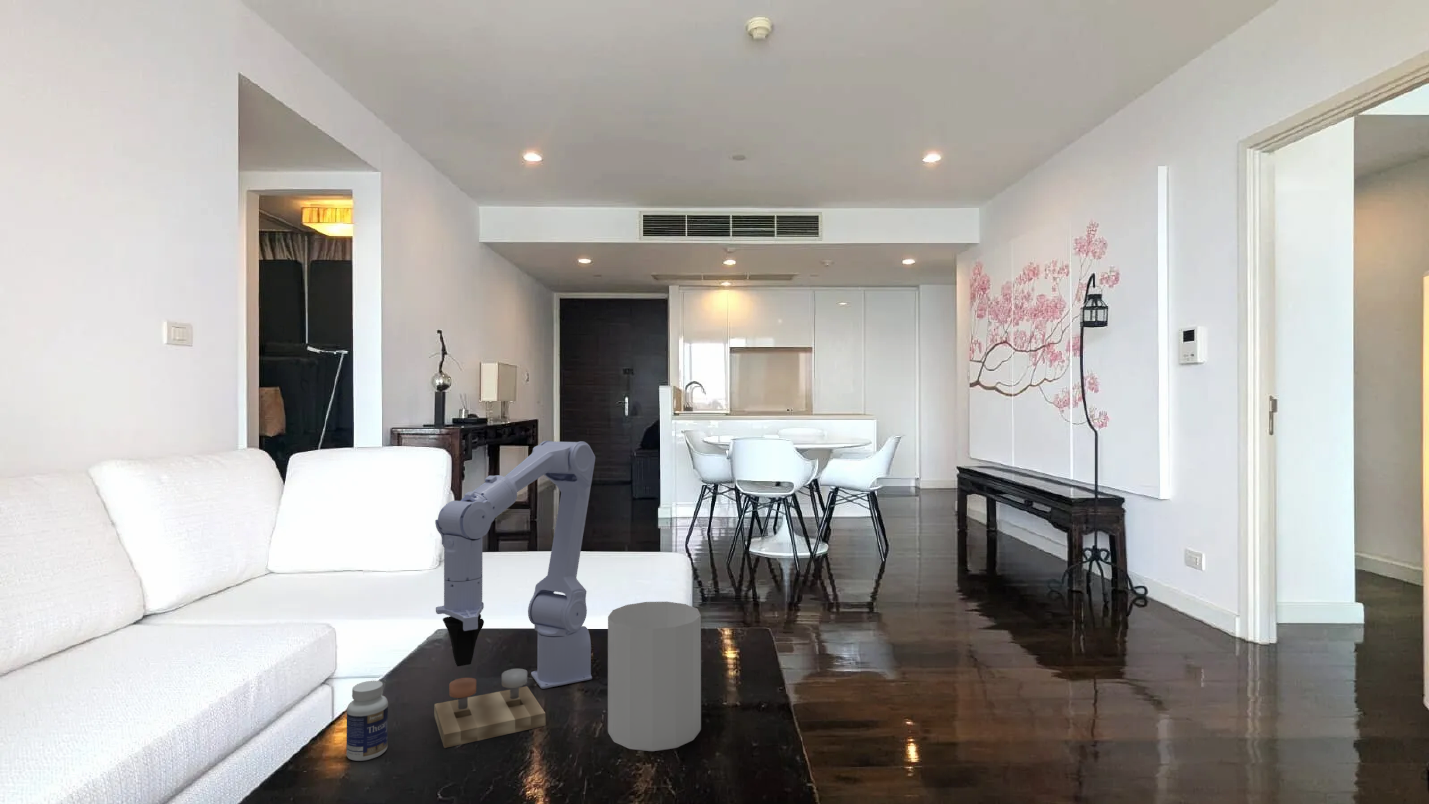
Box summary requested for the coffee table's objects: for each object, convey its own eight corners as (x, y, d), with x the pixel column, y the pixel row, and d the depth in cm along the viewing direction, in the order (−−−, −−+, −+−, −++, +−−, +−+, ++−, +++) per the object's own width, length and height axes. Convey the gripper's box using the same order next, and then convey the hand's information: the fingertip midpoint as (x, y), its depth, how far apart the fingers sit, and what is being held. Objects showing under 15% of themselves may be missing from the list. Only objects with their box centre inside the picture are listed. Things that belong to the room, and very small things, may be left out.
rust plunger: (473, 700, 111) (474, 675, 111) (478, 709, 107) (478, 684, 107) (447, 705, 109) (447, 680, 109) (451, 715, 105) (451, 689, 105)
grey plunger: (523, 690, 115) (523, 667, 115) (529, 699, 111) (529, 675, 111) (499, 695, 113) (499, 671, 113) (504, 704, 109) (504, 679, 109)
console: (527, 697, 119) (527, 686, 119) (545, 725, 108) (545, 713, 108) (434, 716, 112) (434, 704, 112) (444, 748, 101) (444, 734, 101)
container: (599, 718, 111) (599, 607, 112) (682, 703, 117) (682, 597, 117) (623, 759, 98) (623, 633, 98) (715, 740, 104) (715, 621, 104)
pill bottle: (370, 764, 97) (371, 694, 97) (337, 760, 98) (338, 691, 98) (395, 745, 102) (396, 680, 102) (364, 742, 103) (364, 677, 103)
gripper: (430, 570, 113) (430, 653, 113) (442, 591, 100) (441, 684, 100) (475, 565, 116) (475, 646, 116) (492, 585, 103) (491, 675, 103)
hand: (463, 663), depth 108 cm, fingers closed
